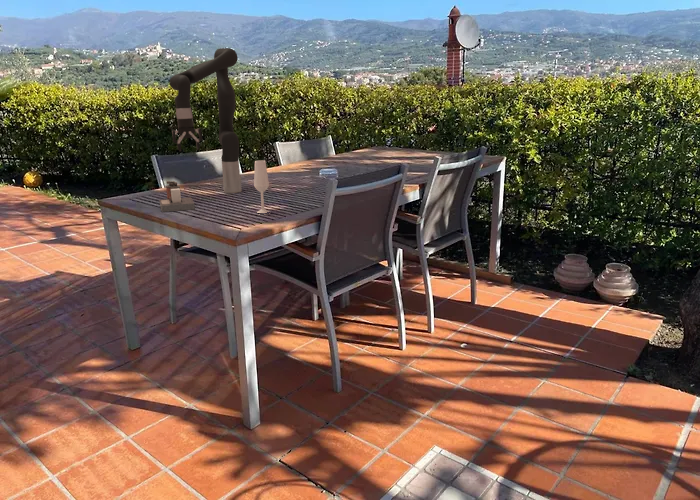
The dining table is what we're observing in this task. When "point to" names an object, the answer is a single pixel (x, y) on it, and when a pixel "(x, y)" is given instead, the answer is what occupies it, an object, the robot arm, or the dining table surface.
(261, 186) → the champagne flute
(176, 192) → the peg
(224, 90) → the robot arm
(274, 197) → the dining table surface
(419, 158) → the dining table surface
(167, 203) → the slot holder
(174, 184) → the lighter
